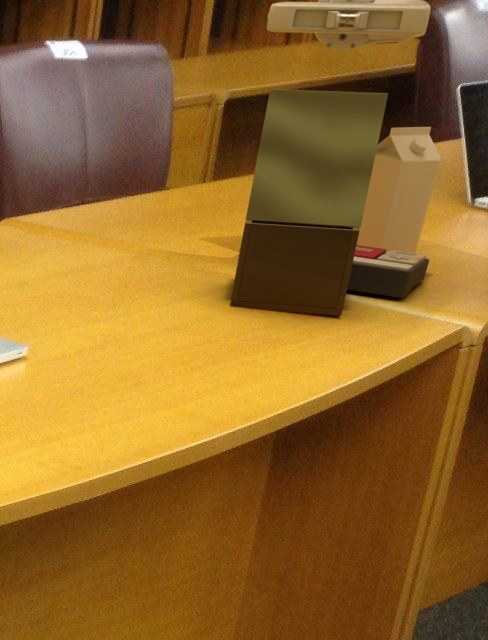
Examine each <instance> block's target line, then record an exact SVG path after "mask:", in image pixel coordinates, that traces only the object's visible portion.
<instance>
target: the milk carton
mask: <svg viewBox="0 0 488 640" xmlns="http://www.w3.org/2000/svg"><path fill="white" fill-rule="evenodd" d="M431 129H432V126H413V127H411V126H410V127H409V126H407V127H390V133H389V135H388V136H387V137H386V138H384V139H383V140H382V141H380V142H378V145H377V150H376V155H375V160H374V165H373V170H372V174H371V179H370V184H369V189H368V194H367V199H366V204H365V209H364V213H363V218H362V223H361V227H360V228H359V231H360V232H359V236H358V241H357V245H361V246H367V247H374V248H381V249H386V253H387V252H389V251H391V250H395V251H402V252H409V253H416V252H417V249H418V245H419V241H420V238H421V234H422V230H423V227H424V223H425V219H426V216H427V212H428V208H429V206H430V202H431V197H432V195H433V190H434V187H435V184H436V180H437V176H438V172H439V169H440V165H441V161H442V157H441V155H440V154H439V151H438V148H436V144H434V142H433V139H432V137H431V135H430V133H431ZM416 254H417V253H416Z"/></svg>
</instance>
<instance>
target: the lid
mask: <svg viewBox="0 0 488 640" xmlns="http://www.w3.org/2000/svg"><path fill="white" fill-rule="evenodd" d="M388 96H389V93H388V92H387V93H386V92H361V91H360V92H358V91H333V90H332V91H329V90H305V89H303V90H302V89H277V88H275V89H273V88H270V89H269V94H268V98H267V99H268V100H267V105H266V110H265V116H264V121H263V126H262V130H261V135H260V142H259V147H258V151H257V152H258V153H257V157H256V162H255V168H254V172H253V178H252V185H251V188H250V195H249V200H248V205H247V209H246V216H245V221H246V220H250V221H266V222H281V223H296V224H311V225H327V226H342V227H357V228H360V227H361V223H362V218H363V213H364V209H365V204H366V199H367V194H368V189H369V184H370V179H371V174H372V170H373V165H374V160H375V155H376V150H377V145H378V144H379V140H380V135H381V130H382V125H383V121H384V116H385V112H386V111H385V110H386V106H387V102H388V101H387V100H388Z"/></svg>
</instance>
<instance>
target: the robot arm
mask: <svg viewBox="0 0 488 640" xmlns="http://www.w3.org/2000/svg"><path fill="white" fill-rule="evenodd" d="M431 10H432V7H431V4H430V3H428V2H427V1H426V0H317V1H316V2H315V1H281V2H273V3H272V4H271V5H270V8H269V12H268V13H267V15H266V17H267V23H266V30H267V31H268V32H271V33H301V34H303V33H304V34H305V33H306V34H314V36H315V37H316V39H317V40H318V41H319V43H320V44H322V45H323V46H324V47H326V48H328V49H331V50H336V51H347V50H352V49H354V48H362V47H363V48H364V47H366V46H371V45H381V44H399V43H407V42H409V41H410V39H414V38H420V37H423V36H424V35H425V34H426V32H427V28H428V24H429V20H430V16H431Z"/></svg>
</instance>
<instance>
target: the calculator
mask: <svg viewBox="0 0 488 640" xmlns="http://www.w3.org/2000/svg"><path fill="white" fill-rule="evenodd" d="M429 264H430V259H429V258H427V254H422V253H409V252H402V251H395V250H391V251H389V252H387V253H386V249H381V248H374V247H367V246H361V245H357V246H356V250H355V255H354V259H353V264H352V269H351V273H350V278H349V282H348V287H347V291H354V292H355V291H356V292H360V293H367V294H373V295H380V296H386V297H394V298H398V299H403V298H405V297H406V296H408V295H409V293H410V291H411V290H412V289H413V288H414V287H415V286H417V285H418V284H420V283H422V281H424V280H425V277H426V273H427V271H428V266H429Z"/></svg>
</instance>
